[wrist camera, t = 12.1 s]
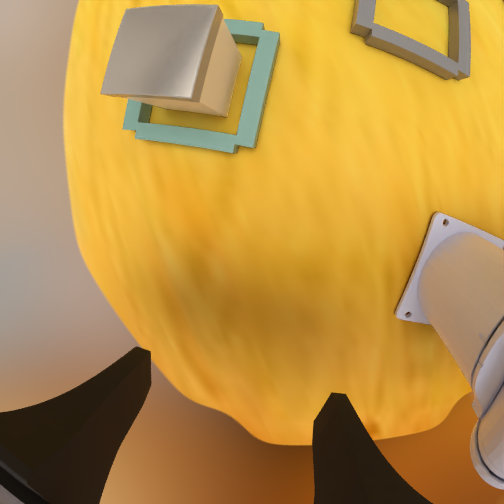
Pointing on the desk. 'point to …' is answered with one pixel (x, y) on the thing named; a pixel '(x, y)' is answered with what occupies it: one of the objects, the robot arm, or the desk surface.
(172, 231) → the desk surface
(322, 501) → the robot arm
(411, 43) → the socket
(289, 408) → the desk surface
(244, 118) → the socket
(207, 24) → the plug
